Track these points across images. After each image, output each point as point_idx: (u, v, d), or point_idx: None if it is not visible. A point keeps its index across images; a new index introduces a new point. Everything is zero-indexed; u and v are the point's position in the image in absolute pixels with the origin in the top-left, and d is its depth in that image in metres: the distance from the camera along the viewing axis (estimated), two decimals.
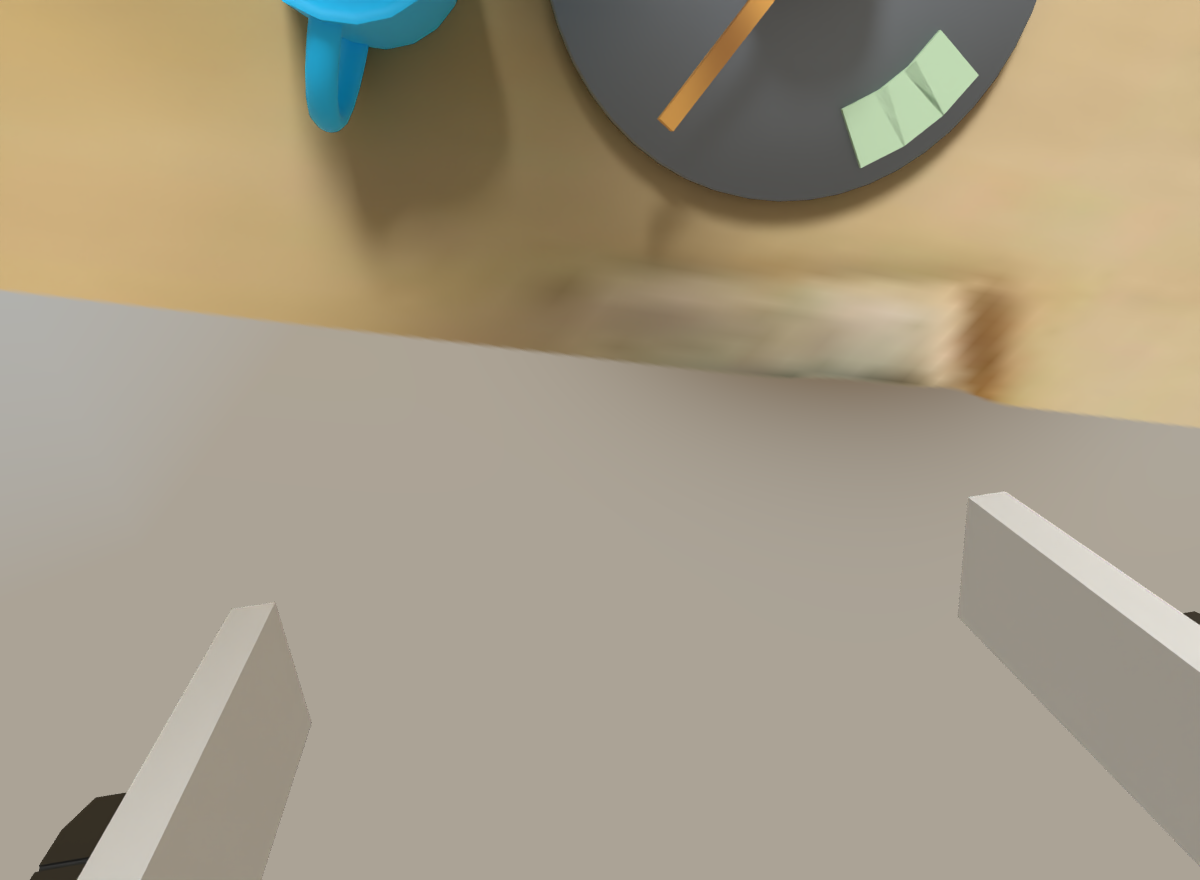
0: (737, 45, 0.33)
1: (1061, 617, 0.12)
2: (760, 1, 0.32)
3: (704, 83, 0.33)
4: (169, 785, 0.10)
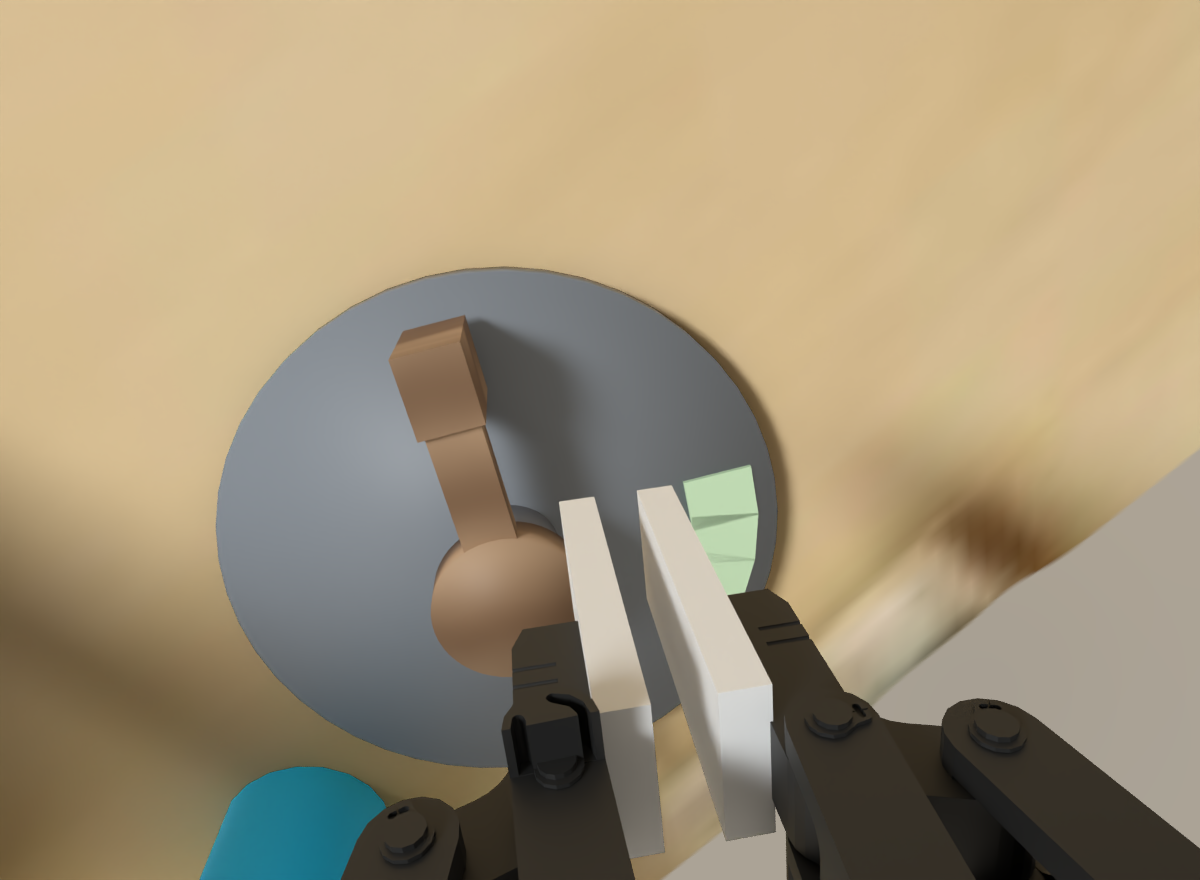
0: None
1: (665, 594, 0.14)
2: None
3: None
4: (610, 608, 0.12)
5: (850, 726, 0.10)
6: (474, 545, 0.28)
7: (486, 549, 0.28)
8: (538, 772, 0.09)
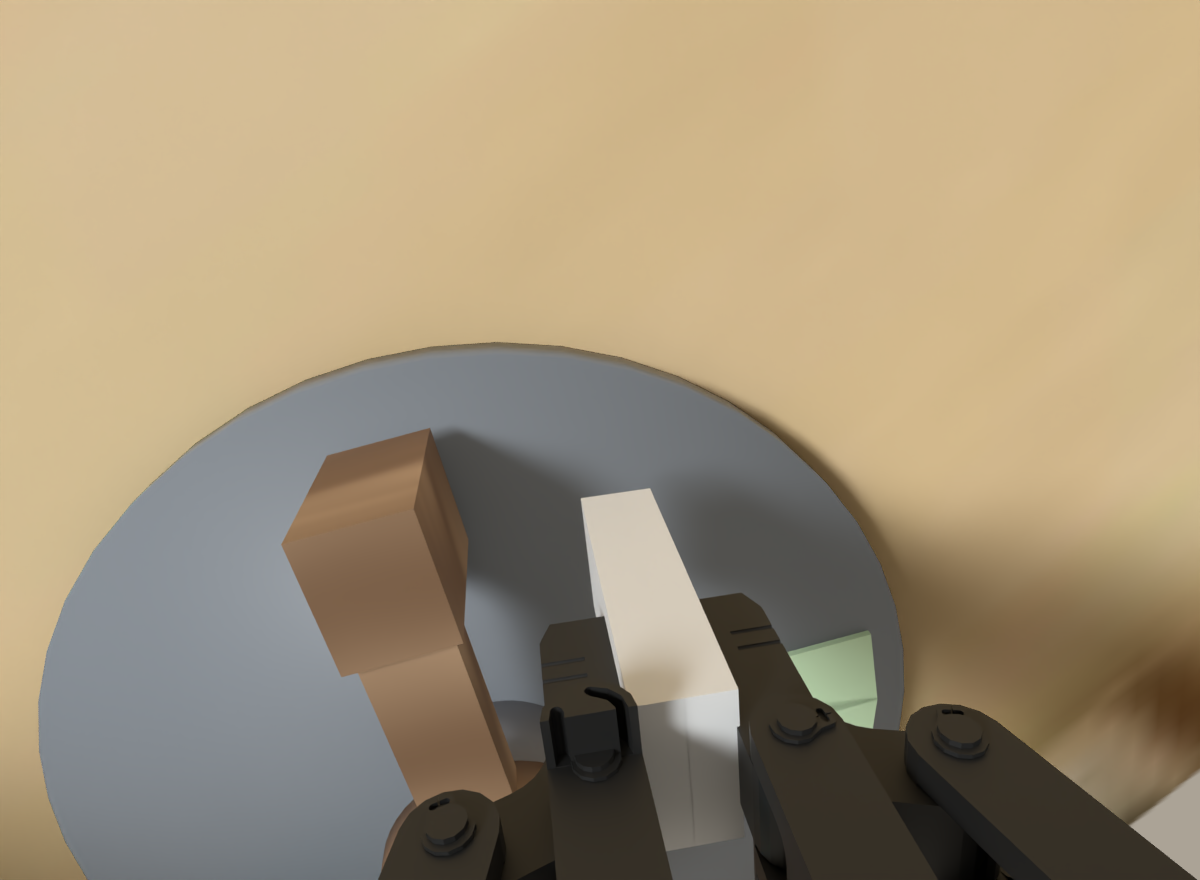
0: None
1: None
2: None
3: None
4: (638, 603, 0.12)
5: (814, 731, 0.10)
6: None
7: None
8: (575, 764, 0.10)
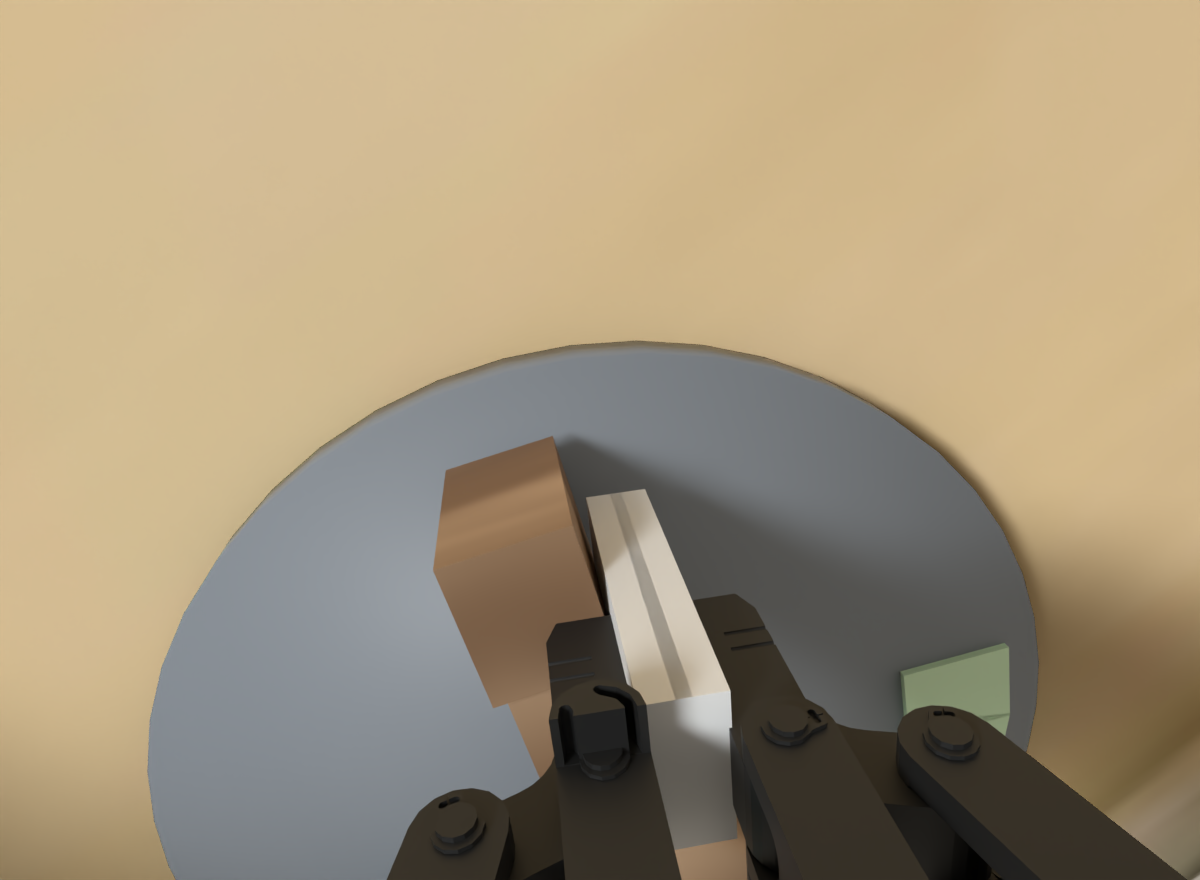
0: None
1: None
2: None
3: None
4: (645, 602, 0.12)
5: (806, 732, 0.10)
6: None
7: None
8: (584, 762, 0.10)
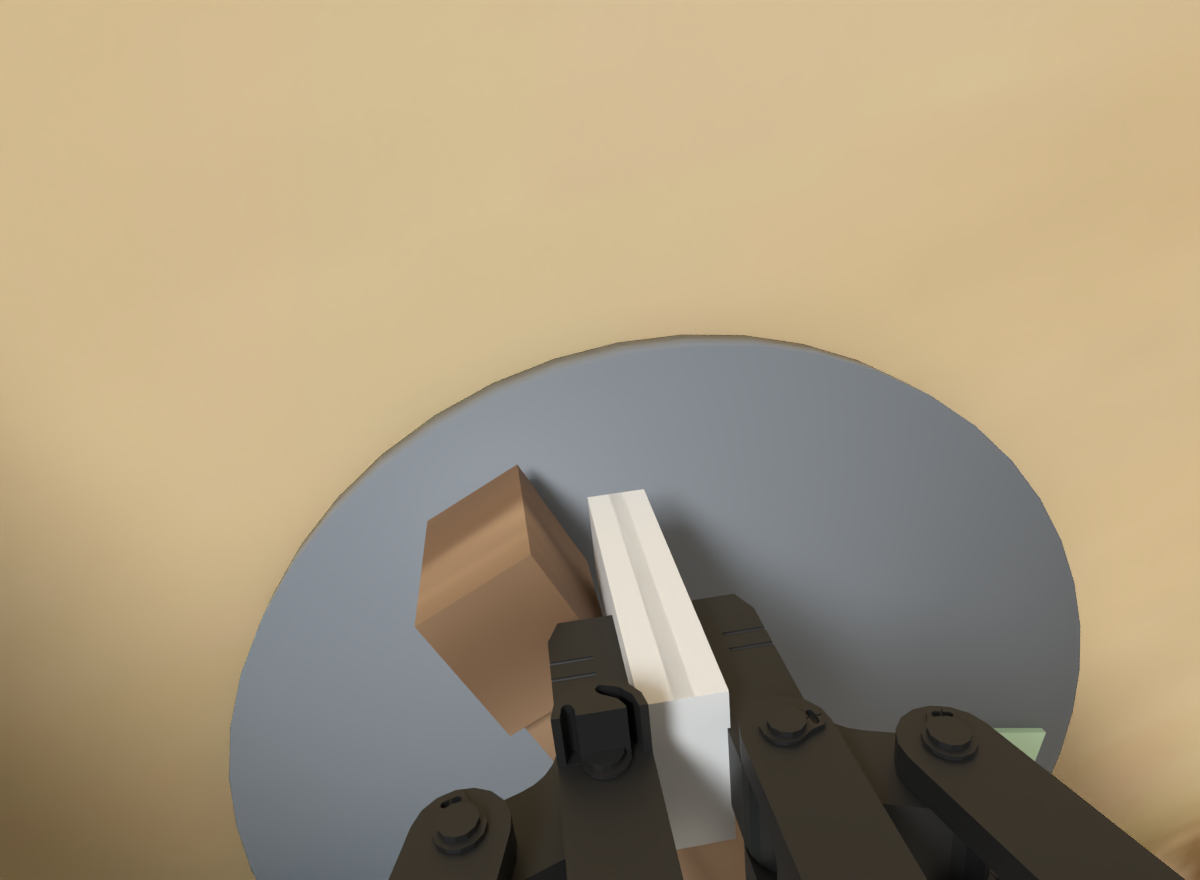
0: None
1: None
2: None
3: None
4: (646, 602, 0.12)
5: (804, 733, 0.10)
6: None
7: None
8: (586, 762, 0.10)
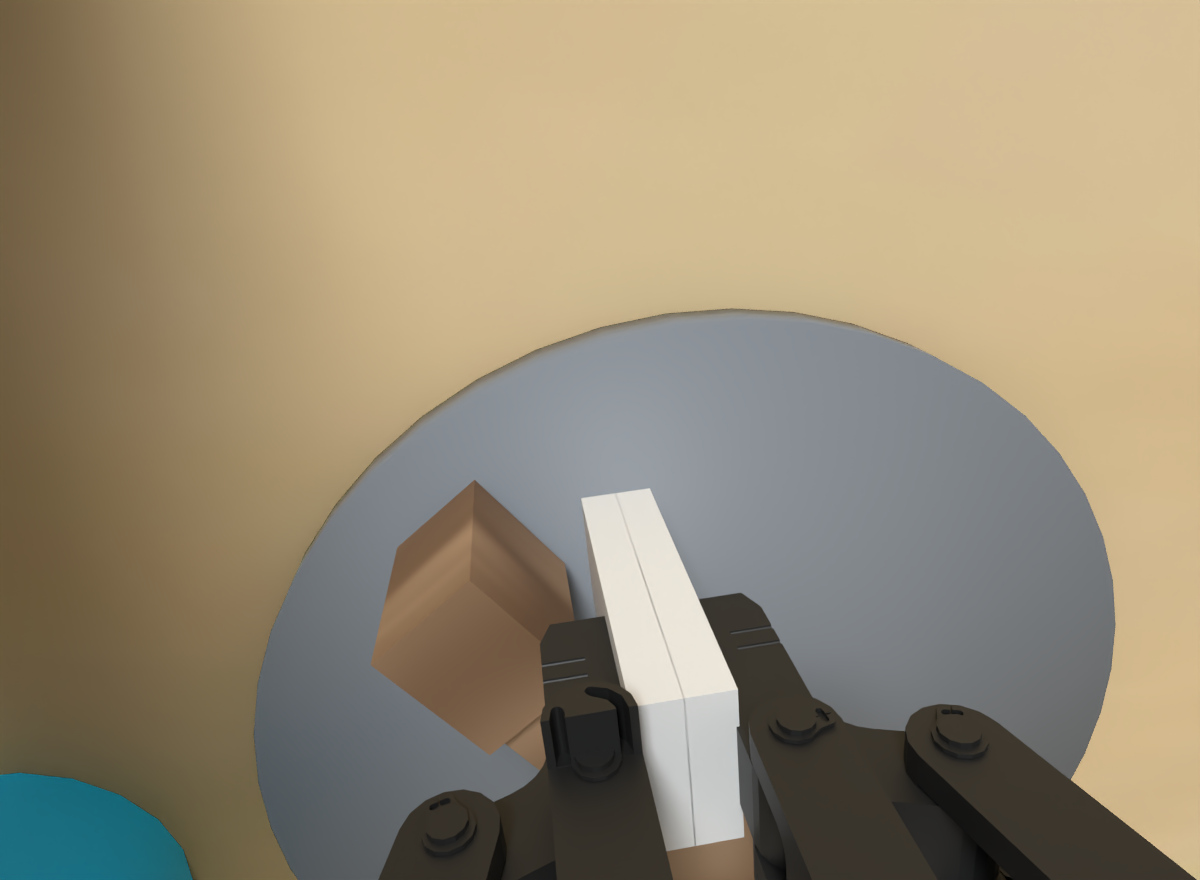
0: None
1: None
2: None
3: None
4: (638, 603, 0.12)
5: (814, 731, 0.10)
6: None
7: None
8: (576, 764, 0.10)
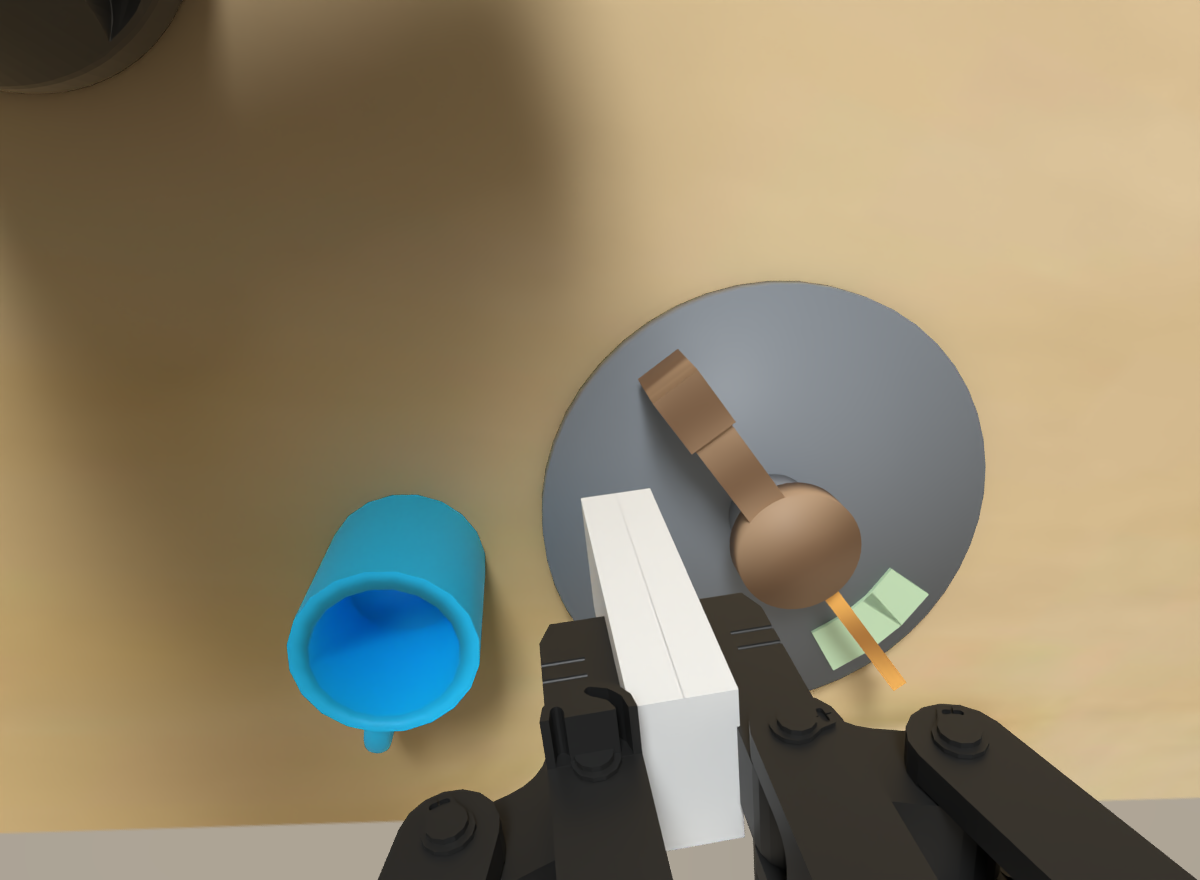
0: (866, 631, 0.40)
1: None
2: (842, 611, 0.39)
3: (882, 657, 0.40)
4: (638, 603, 0.12)
5: (814, 731, 0.10)
6: (755, 514, 0.36)
7: (766, 513, 0.36)
8: (575, 764, 0.10)
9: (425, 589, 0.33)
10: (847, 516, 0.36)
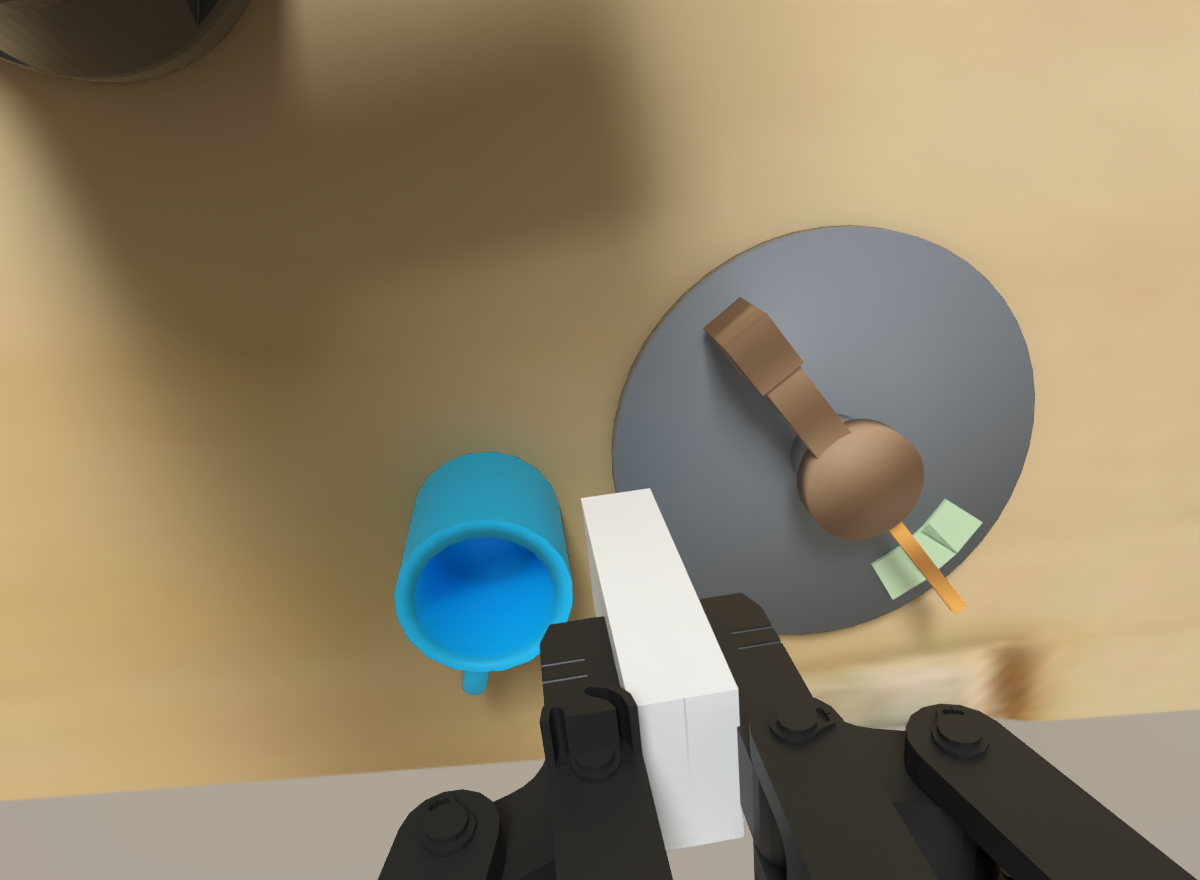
0: (928, 558, 0.42)
1: None
2: (905, 540, 0.41)
3: (943, 582, 0.42)
4: (638, 603, 0.12)
5: (814, 731, 0.10)
6: (823, 450, 0.38)
7: (833, 449, 0.38)
8: (575, 764, 0.10)
9: (521, 535, 0.35)
10: (910, 448, 0.38)
